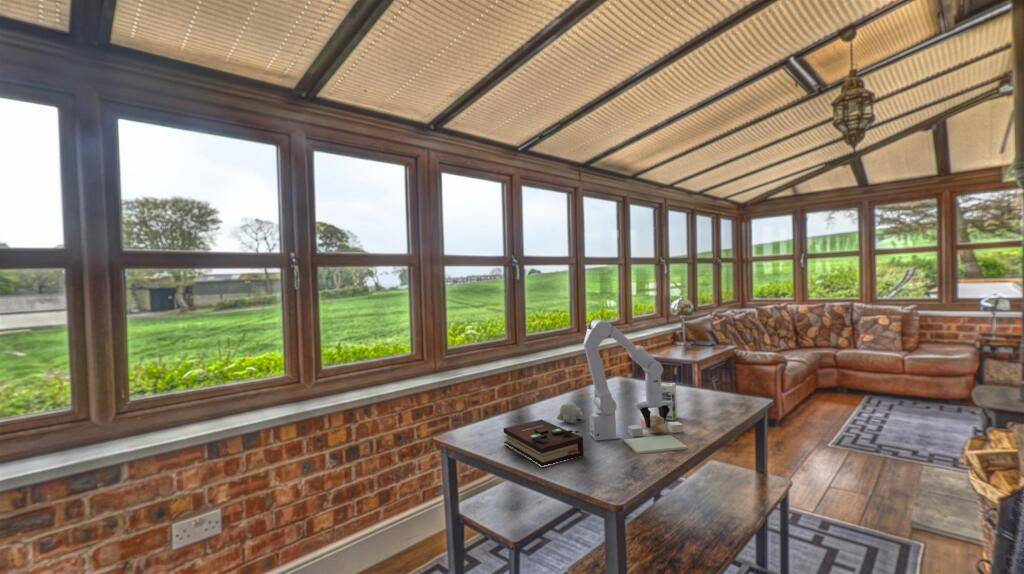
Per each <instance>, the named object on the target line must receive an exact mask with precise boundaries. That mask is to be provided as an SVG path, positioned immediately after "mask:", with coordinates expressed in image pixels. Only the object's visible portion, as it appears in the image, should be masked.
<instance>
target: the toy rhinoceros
mask: <svg viewBox="0 0 1024 574" xmlns="http://www.w3.org/2000/svg"><path fill="white" fill-rule="evenodd" d="M582 415H583V412H582V407H578V406H577V405H576V404H575V403H574V402H572V401H564V402H562V403H561V405H560V407H559V413H558V414H557V416H556V419H557V420H559V421H563V422H565V421H566V422H565V423H568V424H574V419H576V420H577V419H579V420H580V419H582Z"/></svg>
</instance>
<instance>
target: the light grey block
mask: <svg viewBox="0 0 1024 574" xmlns="http://www.w3.org/2000/svg"><path fill="white" fill-rule="evenodd" d="M667 430H668V431H669V432H671V433H672V434H676V433H677V432H678V433H683V432H684V428H683V423H681V422H679V421H678V420H677V421H668V422H667Z"/></svg>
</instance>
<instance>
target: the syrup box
mask: <svg viewBox="0 0 1024 574" xmlns="http://www.w3.org/2000/svg"><path fill="white" fill-rule="evenodd" d="M661 393H662V400H671V401H673V407H670V406H668V408H670V411H669V413H668V414H667V417H666V420H665V421H673V422H676V419H677V417H678V409H677V385H676V382H662V381H661Z"/></svg>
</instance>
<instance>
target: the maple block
mask: <svg viewBox="0 0 1024 574" xmlns="http://www.w3.org/2000/svg"><path fill="white" fill-rule="evenodd" d="M645 430H647V431H649V432H650V433H651V434H655V433H665V424H664V418H662V417H661V416H659V414H650V428H648V427H646V429H645Z"/></svg>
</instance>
